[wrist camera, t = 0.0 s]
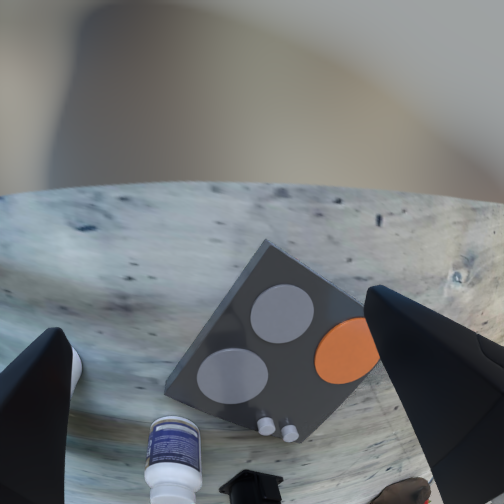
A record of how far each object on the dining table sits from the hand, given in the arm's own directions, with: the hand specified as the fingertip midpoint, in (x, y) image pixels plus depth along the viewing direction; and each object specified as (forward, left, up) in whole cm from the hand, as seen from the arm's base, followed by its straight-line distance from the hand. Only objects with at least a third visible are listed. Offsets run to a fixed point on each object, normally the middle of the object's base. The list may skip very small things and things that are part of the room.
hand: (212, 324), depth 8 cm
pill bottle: (-20, -8, -16) cm, 27 cm away
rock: (-22, -51, -10) cm, 56 cm away
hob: (-6, -12, -15) cm, 21 cm away
